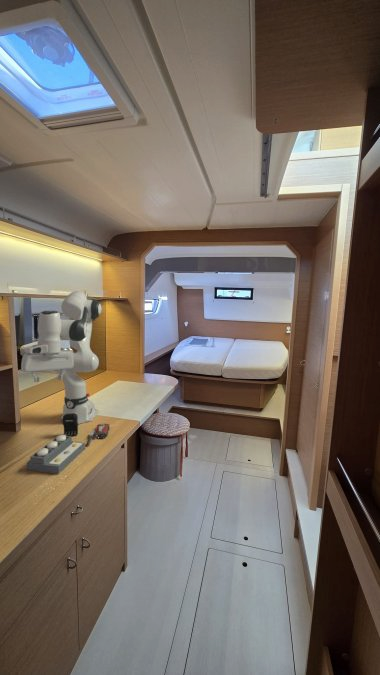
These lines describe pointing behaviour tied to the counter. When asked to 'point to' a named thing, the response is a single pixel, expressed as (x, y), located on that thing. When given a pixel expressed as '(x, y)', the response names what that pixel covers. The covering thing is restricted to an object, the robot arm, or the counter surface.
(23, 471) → the counter surface
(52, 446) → the middle button
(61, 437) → the button
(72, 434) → the battery charger
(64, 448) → the pattern board
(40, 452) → the button
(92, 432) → the walkie-talkie
